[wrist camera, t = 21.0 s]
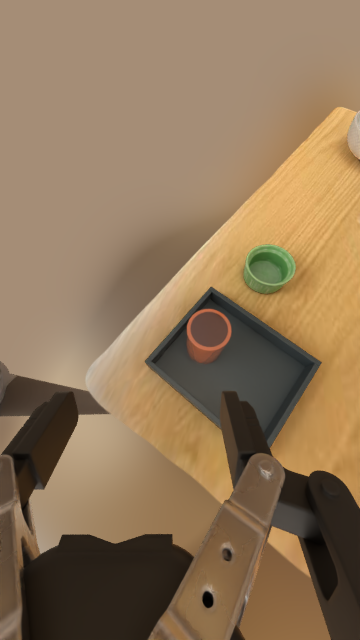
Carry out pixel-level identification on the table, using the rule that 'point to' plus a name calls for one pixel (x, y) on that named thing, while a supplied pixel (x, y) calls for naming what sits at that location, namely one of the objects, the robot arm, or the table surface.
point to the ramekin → (268, 268)
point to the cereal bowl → (354, 136)
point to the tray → (238, 367)
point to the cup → (207, 335)
